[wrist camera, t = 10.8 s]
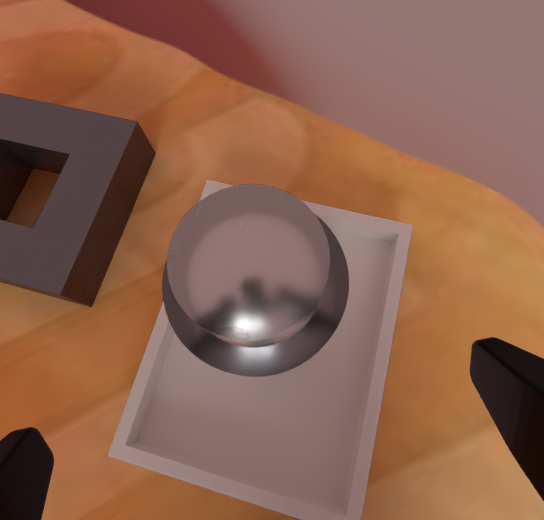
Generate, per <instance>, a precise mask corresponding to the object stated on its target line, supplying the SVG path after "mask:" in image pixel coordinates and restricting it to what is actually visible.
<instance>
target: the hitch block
mask: <svg viewBox="0 0 544 520" xmlns="http://www.w3.org/2000/svg"><path fill="white" fill-rule="evenodd" d="M154 156H155V151H154V149H153V148H152V146H151V144H150V142H149V141H148V139H147V137H146V136H145V134H144V132H143V130H142V129H141V127H140V125H139V124H138V122H137V121H133V120H128V119H123V118H118V117H113V116H109V115H104V114H99V113H94V112H89V111H84V110H80V109H75V108H70V107H65V106H60V105H55V104H50V103H46V102H41V101H36V100H31V99H26V98H21V97H16V96H12V95H7V94H2V93H0V282H2V283H6V284H9V285H13V286H17V287H20V288H24V289H27V290H31V291H35V292H38V293H42V294H45V295H49V296H53V297H56V298H60V299H63V300H67V301H71V302H74V303H78V304H82V305H85V306H89V307H92V305H93V302H94V300H95V297H96V295H97V293H98V290H99V288H100V285H101V283H102V281H103V278H104V276H105V273H106V271H107V269H108V266H109V264H110V261H111V259H112V257H113V254H114V252H115V249H116V247H117V245H118V242H119V240H120V237H121V235H122V233H123V230H124V228H125V225H126V223H127V221H128V218H129V216H130V213H131V211H132V209H133V206H134V204H135V201H136V199H137V197H138V194H139V192H140V189H141V187H142V185H143V182H144V180H145V177H146V175H147V173H148V170H149V168H150V165H151V163H152V161H153V158H154ZM33 168H36V169H41V170H45V171H49V172H54V173H58V174H60V176H59V178H58V180H57V182H56V184H55V186H54V188H53V190H52V192H51V194H50V196H49V198H48V200H47V202H46V204H45V206H44V208H43V210H42V212H41V214H40V216H39V218H38V220H37V222H36V224H35V226H34V228H31V227H27V226H23V225H19V224H15V223H11V222H7V221H5V220H6V219H7V217H8V215H9V213H10V211H11V209H12V207H13V205H14V203H15V201H16V199H17V197H18V195H19V194H20V192H21V190H22V188H23V186H24V184H25V182H26V180H27V178H28V176H29V174H30V172H31V170H32V169H33Z"/></svg>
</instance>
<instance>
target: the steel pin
mask: <svg viewBox="0 0 544 520" xmlns="http://www.w3.org/2000/svg"><path fill="white" fill-rule="evenodd" d="M162 291H163V302H164V306H165V311H166V314H167V317H168V320H169V323H170V324H171V326H172V328H173V330H174V332H175V334H176V335H177V337H178V338H179V339H180V341H181V342H182V344H183V345H184V346H185V347H186V348H187V349H188V350H189V351H190V352H191V353H192V354H194V355H195V356H196V357H197V358H199V359H200V360H201V361H203V362H205V363H207V364H208V365H210V366H212V367H214V368H217V369H219V370H222V371H224V372H228V373H232V374H236V375H240V376H248V377H266V376H272V375H277V374H281V373H284V372H287V371H290V370H292V369H294V368H296V367H298V366H300V365H302V364H303V363H305V362H306V361H308V360H309V359H311V358H312V357H313V356H314V355H315V354H317V353H318V352H319V351H320V350H321V349H322V347H323V346H324V345H325V344H326V343H327V342H328V340H329V339H330V338H331V336H332V335H333V333H334V332H335V330H336V329H337V327H338V325H339V323H340V321H341V319H342V317H343V314H344V311H345V308H346V305H347V299H348V294H349V273H348V266H347V262H346V258H345V255H344V253H343V250H342V247H341V245H340V243H339V242H338V240H337V238H336V236H335V235H334V233H333V232H332V231H331V229H330V228H329V227H328V226H327V225H326V224H325V223H324V222H323V220H322V219H320V218H319V217H318V216H317V215H316V214H314V213H313V212H312V211H311V210H310V209H309V207H308V206H307V205H305V204H304V203H303V202H302V201H301V200H299V199H298V198H296V197H295V196H293V195H291V194H290V193H287V192H285V191H283V190H281V189H278V188H274V187H271V186H266V185H257V184H244V185H237V186H231V187H228V188H224V189H222V190H219V191H217V192H214V193H212V194H210V195H209V196H207V197H205V198H204V199H202V200H201V201H199V202H198V203H197V204H196V205H195V206H193V207H192V208H191V209H190V210H189V211H188V212H187V214H186V215H185V216H184V217H183V218H182V220H181V221H180V223H179V224H178V226H177V228H176V230H175V232H174V234H173V236H172V239H171V242H170V245H169V250H168V256H167V261H166V264H165V269H164V274H163V284H162Z"/></svg>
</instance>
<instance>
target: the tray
mask: <svg viewBox="0 0 544 520" xmlns="http://www.w3.org/2000/svg"><path fill="white" fill-rule="evenodd" d="M231 186H235V185H230V184H226V183H221V182H217V181H212V180H208V179H207V182H206V184H205V187H204V190H203V193H202V196H201V198H200V201H201V200H202V199H204V198H205V197H207V196H209V195H210V194H212V193H214V192H217V191H219V190H222V189H224V188H228V187H231ZM301 201H302V200H301ZM302 202H303V203H304V204H305V205H307V206H308V207H309V209H310V210H311V211H312V212H313V213H314V214H316V215H317V216H318V217H319V218H320V219H322V220H323V222H324V223H325V224H326V225H327V226H328V227H329V228H330V229H331V231H332V232H333V233H334V235H335V236H336V238H337V240H338V242H339V243H340V245H341V247H342V250H343V253H344V255H345V258H346V262H347V266H348V273H349V294H348V299H347V305H346V308H345V311H344V314H343V317H342V319H341V321H340V323H339V325H338V327H337V329H336V330H335V332H334V333H333V335H332V336H331V338H330V339H329V340H328V342H327V343H326V344H325V345H324V346H323V347H322V349H321V350H320V351H319V352H318V353H317V354H315V355H314V356H313V357H312V358H311V359H309V360H308V361H306V362H305V363H303V364H302V365H300V366H298V367H296V368H294V369H292V370H290V371H287V372H284V373H281V374H277V375H272V376H266V377H248V376H240V375H236V374H232V373H228V372H224V371H222V370H219V369H217V368H214V367H212V366H210V365H208V364H207V363H205V362H203V361H201V360H200V359H199V358H197V357H196V356H195V355H194V354H192V353H191V352H190V351H189V350H188V349H187V348H186V347H185V346H184V345H183V344H182V342H181V341H180V339H179V338H178V337H177V335H176V334H175V332H174V330H173V328H172V326H171V324H170V323H169V320H168V317H167V314H166V311H165V306H164V302H163V303H162V306H161V309H160V312H159V314H158V317H157V320H156V323H155V325H154V328H153V331H152V334H151V337H150V339H149V342H148V345H147V348H146V350H145V353H144V356H143V359H142V361H141V364H140V367H139V370H138V372H137V375H136V378H135V381H134V383H133V386H132V389H131V392H130V395H129V397H128V400H127V403H126V406H125V408H124V411H123V414H122V417H121V419H120V422H119V425H118V428H117V430H116V433H115V436H114V439H113V442H112V444H111V447H110V450H109V453H108V455H107V456H109V457H112V458H115V459H118V460H121V461H124V462H127V463H130V464H134V465H137V466H140V467H143V468H146V469H149V470H152V471H155V472H158V473H161V474H164V475H167V476H170V477H173V478H176V479H179V480H182V481H185V482H188V483H191V484H194V485H197V486H200V487H203V488H206V489H209V490H212V491H215V492H219V493H222V494H225V495H228V496H231V497H234V498H237V499H240V500H243V501H246V502H249V503H252V504H255V505H258V506H261V507H264V508H267V509H270V510H273V511H276V512H279V513H282V514H285V515H288V516H291V517H294V518H297V519H300V520H361V517H362V511H363V506H364V500H365V494H366V489H367V483H368V477H369V472H370V466H371V460H372V454H373V449H374V443H375V437H376V432H377V426H378V420H379V415H380V409H381V403H382V398H383V392H384V386H385V380H386V375H387V369H388V363H389V358H390V352H391V346H392V341H393V335H394V329H395V323H396V318H397V312H398V306H399V301H400V295H401V289H402V284H403V278H404V272H405V266H406V261H407V255H408V249H409V244H410V238H411V232H412V227H413V225H411V224H406V223H402V222H397V221H393V220H388V219H384V218H379V217H375V216H370V215H366V214H361V213H357V212H352V211H348V210H343V209H339V208H334V207H330V206H325V205H320V204H316V203H311V202H307V201H302Z"/></svg>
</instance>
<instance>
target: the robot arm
mask: <svg viewBox="0 0 544 520" xmlns="http://www.w3.org/2000/svg"><path fill="white" fill-rule="evenodd" d="M470 376H471V379H472V382H473V384H474V386H475V387H476V389H477V391H478V393H479V395H480V397H481V399H482V400H483V402H484V404H485V406H486V408H487V410H488V411H489V413H490V415H491V417H492V419H493V421H494V422H495V424H496V426H497V428H498V430H499V432H500V433H501V435H502V437H503V439H504V441H505V443H506V444H507V446H508V448H509V450H510V451H511V453H512V455H513V456H514V458H515V459H516V461H517V462H518V464H519V465H520V467H521V468H522V470H523V471H524V473H525V474H526V476H527V477H528V479H529V480H530V482H531V483H532V485H533V486H534V488H535V489H536V490H537V492H538V493H539V495H540V496H541V498H542V499H543V501H544V359H543V358H541V357H538V356H536V355H534V354H532V353H529V352H527V351H525V350H523V349H520V348H518V347H516V346H514V345H512V344H509V343H507V342H505V341H503V340H500V339H498V338H494V337H491V338H485V339H480V340H476V341H474V343H473V344H472V351H471V363H470ZM53 465H54V457H53V453H52V451H51V449H50V448H49V446H48V445H47V443H46V442H45V440H44V438H43V437H42V435H41V434H40V432H39V431H38V430H37V429H36V428H32V427H30V428H25V429H20V430H15V431H12V432H11V433H9V434H8V435H7V436H6V437H4V438H3V439H2V440H1V441H0V520H41V518H42V514H43V509H44V505H45V501H46V496H47V492H48V487H49V483H50V479H51V474H52V470H53Z"/></svg>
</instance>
